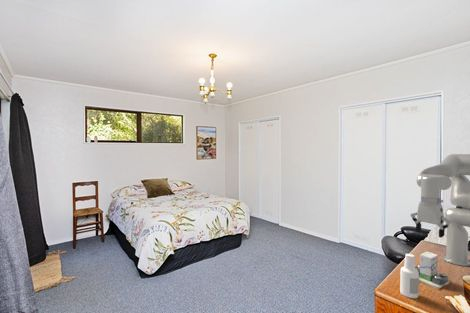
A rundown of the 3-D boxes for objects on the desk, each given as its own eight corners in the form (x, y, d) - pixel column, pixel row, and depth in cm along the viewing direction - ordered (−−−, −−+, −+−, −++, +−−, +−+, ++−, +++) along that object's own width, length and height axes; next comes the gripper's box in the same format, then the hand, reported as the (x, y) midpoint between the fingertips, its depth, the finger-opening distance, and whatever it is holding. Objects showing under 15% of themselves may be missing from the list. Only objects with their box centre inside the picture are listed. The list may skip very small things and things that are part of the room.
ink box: (430, 281, 123) (431, 258, 123) (419, 277, 127) (419, 254, 127) (438, 277, 128) (438, 254, 127) (426, 273, 132) (427, 251, 132)
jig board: (420, 270, 137) (420, 268, 137) (451, 282, 125) (451, 280, 125) (406, 276, 130) (406, 274, 130) (437, 289, 118) (437, 287, 118)
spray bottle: (419, 300, 109) (419, 259, 109) (400, 295, 113) (401, 255, 112) (417, 293, 115) (418, 254, 115) (399, 288, 118) (400, 250, 118)
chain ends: (418, 270, 135) (418, 264, 135) (448, 281, 124) (448, 274, 124) (409, 274, 131) (409, 267, 131) (439, 285, 120) (439, 278, 119)
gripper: (454, 202, 121) (454, 238, 121) (415, 197, 136) (414, 228, 136) (447, 204, 117) (447, 240, 118) (407, 198, 132) (407, 230, 133)
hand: (429, 234), depth 127 cm, fingers open, 9 cm apart
